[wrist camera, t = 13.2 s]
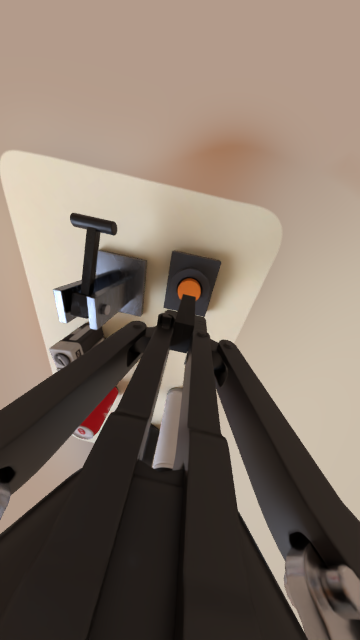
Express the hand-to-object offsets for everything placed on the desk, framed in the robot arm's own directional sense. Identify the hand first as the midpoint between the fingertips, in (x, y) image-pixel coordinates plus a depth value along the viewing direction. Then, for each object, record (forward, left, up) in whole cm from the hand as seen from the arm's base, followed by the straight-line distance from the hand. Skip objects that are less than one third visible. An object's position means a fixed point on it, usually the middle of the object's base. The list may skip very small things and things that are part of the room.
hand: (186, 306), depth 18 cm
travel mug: (+22, +23, -12) cm, 34 cm away
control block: (0, 0, -12) cm, 12 cm away
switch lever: (+8, -10, -4) cm, 13 cm away
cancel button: (0, 0, -8) cm, 8 cm away
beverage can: (+38, +10, -12) cm, 41 cm away
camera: (+27, 0, -12) cm, 30 cm away
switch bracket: (+11, -8, -12) cm, 18 cm away
